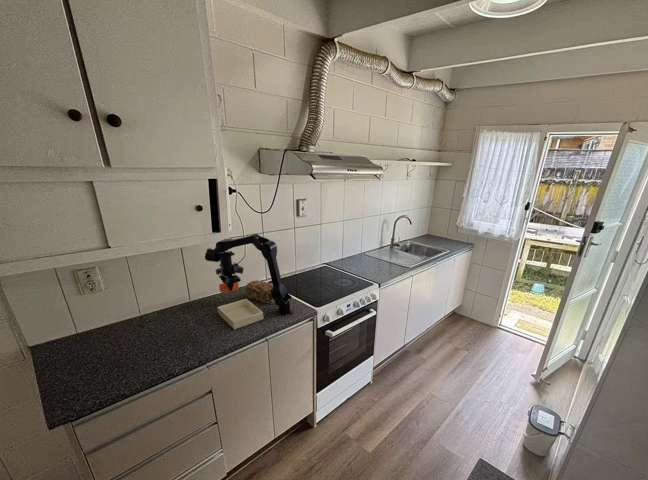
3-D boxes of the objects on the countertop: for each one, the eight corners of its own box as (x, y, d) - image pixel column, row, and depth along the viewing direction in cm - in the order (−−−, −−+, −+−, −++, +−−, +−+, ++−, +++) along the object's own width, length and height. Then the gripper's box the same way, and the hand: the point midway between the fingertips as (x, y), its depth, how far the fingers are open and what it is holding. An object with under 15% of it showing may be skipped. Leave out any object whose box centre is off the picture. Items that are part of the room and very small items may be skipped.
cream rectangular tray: (263, 319, 155) (263, 312, 153) (234, 330, 145) (233, 322, 143) (246, 305, 168) (246, 298, 166) (218, 314, 157) (217, 306, 155)
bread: (245, 298, 175) (244, 283, 171) (257, 291, 184) (256, 277, 180) (272, 305, 169) (270, 290, 165) (283, 298, 178) (282, 283, 174)
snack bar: (239, 289, 166) (238, 282, 164) (222, 293, 160) (221, 286, 158) (236, 286, 168) (235, 280, 167) (219, 291, 163) (218, 284, 161)
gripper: (248, 264, 157) (251, 291, 163) (233, 255, 169) (236, 280, 175) (227, 269, 150) (231, 296, 156) (213, 259, 162) (217, 285, 168)
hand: (229, 289), depth 164 cm, fingers closed on snack bar, 4 cm apart
